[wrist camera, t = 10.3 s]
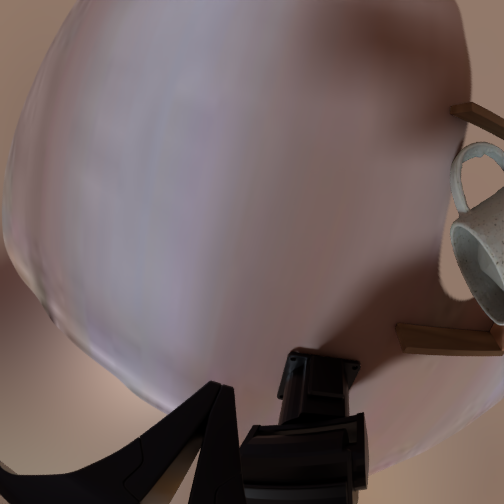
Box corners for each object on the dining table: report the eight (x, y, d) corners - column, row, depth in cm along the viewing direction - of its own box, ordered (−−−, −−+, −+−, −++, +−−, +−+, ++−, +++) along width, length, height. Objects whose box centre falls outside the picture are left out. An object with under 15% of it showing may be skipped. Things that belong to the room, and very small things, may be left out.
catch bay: (490, 336, 17) (502, 355, 15) (395, 328, 19) (403, 353, 17) (546, 160, 11) (567, 165, 8) (450, 106, 12) (472, 101, 10)
